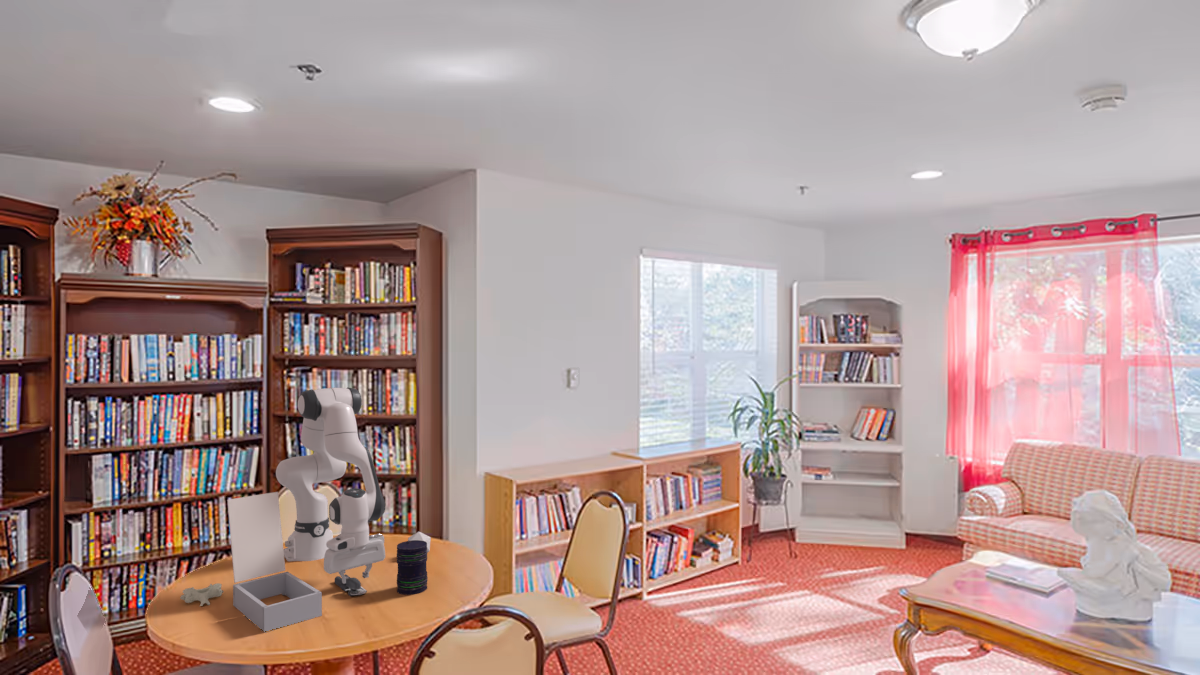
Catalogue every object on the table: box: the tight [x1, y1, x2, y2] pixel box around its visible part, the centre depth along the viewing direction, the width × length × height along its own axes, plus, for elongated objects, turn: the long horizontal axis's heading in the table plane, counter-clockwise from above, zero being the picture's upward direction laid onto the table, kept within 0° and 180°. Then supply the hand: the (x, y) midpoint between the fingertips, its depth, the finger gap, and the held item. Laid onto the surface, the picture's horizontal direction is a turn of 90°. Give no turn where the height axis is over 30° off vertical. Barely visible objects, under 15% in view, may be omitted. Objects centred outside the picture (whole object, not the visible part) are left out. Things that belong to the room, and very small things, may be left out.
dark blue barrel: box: [396, 540, 428, 596], centre depth 224 cm, size 10×10×15 cm
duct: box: [232, 571, 323, 633], centre depth 207 cm, size 26×16×7 cm, turn 46°
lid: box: [226, 491, 286, 584], centre depth 219 cm, size 26×15×1 cm
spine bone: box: [179, 583, 224, 607], centre depth 214 cm, size 12×10×5 cm
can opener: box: [334, 573, 368, 597], centre depth 225 cm, size 19×5×6 cm, turn 40°
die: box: [407, 531, 432, 553], centre depth 257 cm, size 8×9×10 cm
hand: (355, 580), depth 227 cm, fingers open, 6 cm apart
